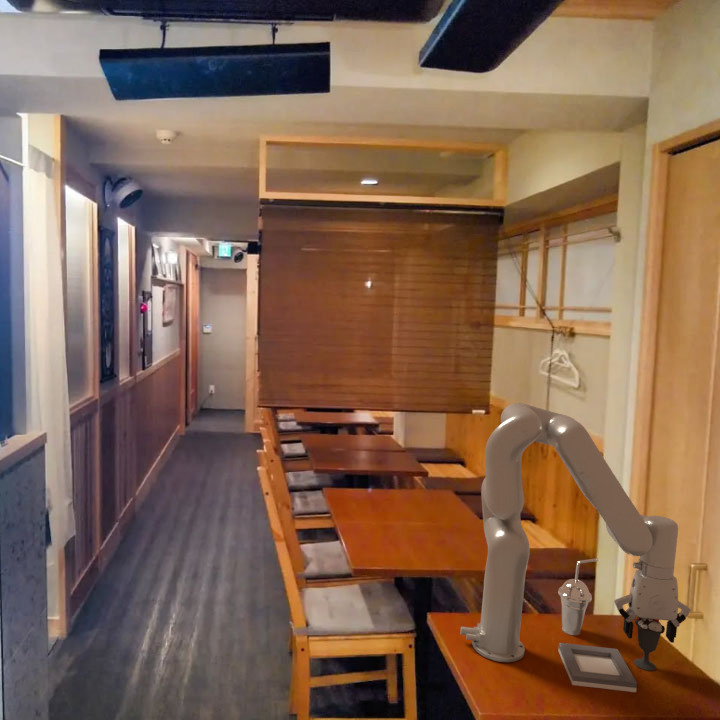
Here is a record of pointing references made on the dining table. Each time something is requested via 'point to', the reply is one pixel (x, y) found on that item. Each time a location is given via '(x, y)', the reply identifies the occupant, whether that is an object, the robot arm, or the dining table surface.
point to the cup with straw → (574, 602)
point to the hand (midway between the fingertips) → (648, 637)
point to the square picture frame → (596, 667)
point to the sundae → (648, 640)
